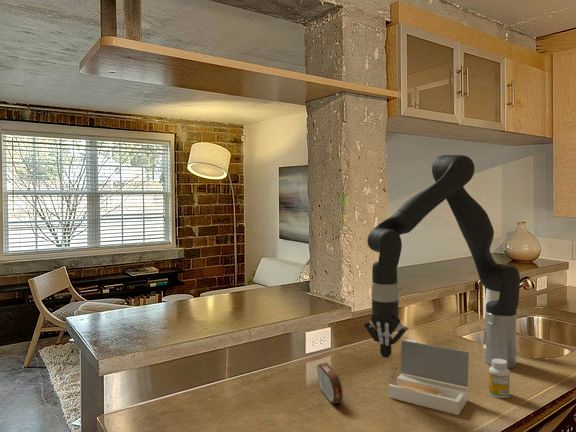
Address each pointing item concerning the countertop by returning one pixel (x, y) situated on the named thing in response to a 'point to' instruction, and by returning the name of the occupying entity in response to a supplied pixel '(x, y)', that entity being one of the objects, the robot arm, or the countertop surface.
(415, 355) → the cover
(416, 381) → the white open tray
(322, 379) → the tin
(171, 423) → the countertop surface
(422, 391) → the rod
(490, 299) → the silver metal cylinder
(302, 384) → the countertop surface
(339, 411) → the countertop surface
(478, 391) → the countertop surface
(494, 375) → the supplement bottle
